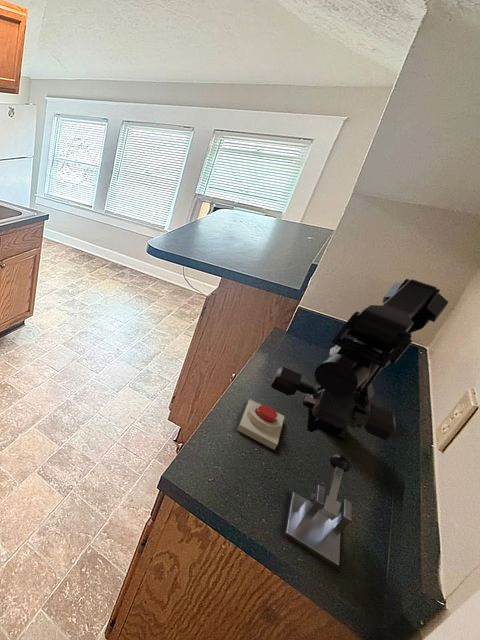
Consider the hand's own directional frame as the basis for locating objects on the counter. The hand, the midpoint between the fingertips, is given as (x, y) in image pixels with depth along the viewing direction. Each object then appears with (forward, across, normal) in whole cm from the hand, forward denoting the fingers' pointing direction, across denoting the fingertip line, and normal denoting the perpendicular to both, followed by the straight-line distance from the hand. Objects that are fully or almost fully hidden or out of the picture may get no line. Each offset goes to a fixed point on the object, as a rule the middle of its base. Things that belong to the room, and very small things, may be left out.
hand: (309, 430), depth 78 cm
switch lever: (+6, +6, -6) cm, 10 cm away
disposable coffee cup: (+13, +7, +45) cm, 47 cm away
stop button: (+9, -6, +11) cm, 16 cm away
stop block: (+13, -6, +11) cm, 18 cm away
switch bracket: (+13, +6, -11) cm, 18 cm away
